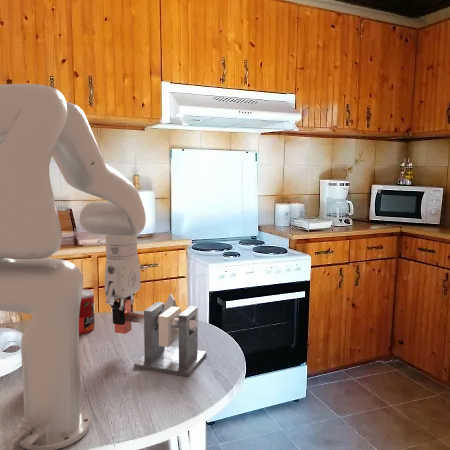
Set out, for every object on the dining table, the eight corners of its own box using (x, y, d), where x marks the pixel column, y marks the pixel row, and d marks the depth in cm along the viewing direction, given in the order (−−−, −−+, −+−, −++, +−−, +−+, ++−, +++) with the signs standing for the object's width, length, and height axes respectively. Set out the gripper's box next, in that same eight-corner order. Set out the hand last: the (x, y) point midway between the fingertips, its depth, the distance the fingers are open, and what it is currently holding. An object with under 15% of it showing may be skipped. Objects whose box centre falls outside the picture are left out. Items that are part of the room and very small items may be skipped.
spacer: (168, 347, 101) (167, 317, 100) (158, 345, 102) (158, 316, 101) (180, 335, 108) (180, 307, 107) (171, 334, 109) (171, 306, 108)
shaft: (192, 343, 101) (192, 311, 100) (114, 332, 108) (114, 301, 107) (197, 339, 104) (197, 307, 103) (121, 328, 110) (120, 298, 109)
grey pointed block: (167, 334, 122) (167, 300, 121) (164, 326, 129) (163, 293, 127) (180, 333, 123) (180, 299, 122) (176, 324, 130) (176, 292, 128)
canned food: (90, 334, 121) (88, 297, 120) (61, 334, 121) (60, 296, 120) (98, 324, 129) (97, 289, 127) (71, 324, 129) (70, 288, 127)
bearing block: (188, 377, 98) (188, 320, 96) (133, 367, 102) (133, 313, 100) (206, 355, 109) (206, 304, 107) (156, 347, 113) (156, 298, 111)
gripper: (116, 257, 97) (118, 335, 99) (150, 245, 112) (151, 312, 115) (88, 255, 99) (90, 331, 102) (125, 243, 115) (126, 309, 117)
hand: (123, 320), depth 108 cm, fingers closed on shaft, 3 cm apart
